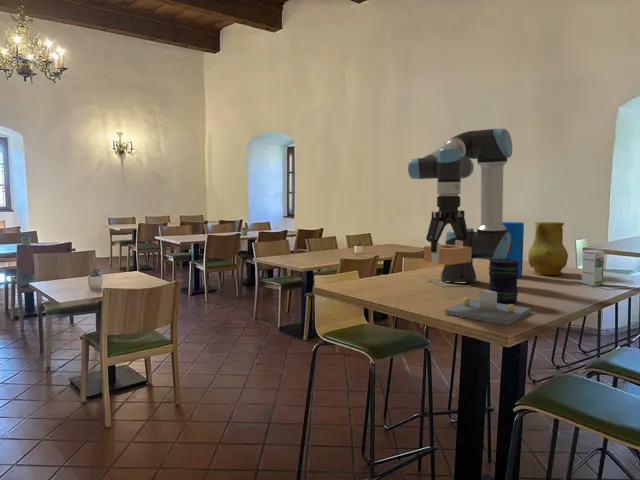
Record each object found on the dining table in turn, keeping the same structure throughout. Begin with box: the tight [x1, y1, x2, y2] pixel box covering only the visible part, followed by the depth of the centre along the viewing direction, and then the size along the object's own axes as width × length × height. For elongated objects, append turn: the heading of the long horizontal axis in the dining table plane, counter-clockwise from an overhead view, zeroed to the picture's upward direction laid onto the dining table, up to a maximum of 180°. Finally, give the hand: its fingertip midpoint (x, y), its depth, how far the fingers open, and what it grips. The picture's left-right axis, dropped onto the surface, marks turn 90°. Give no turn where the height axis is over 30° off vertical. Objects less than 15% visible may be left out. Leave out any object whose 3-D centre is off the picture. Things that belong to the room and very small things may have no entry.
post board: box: [444, 290, 532, 326], centre depth 153 cm, size 20×20×7 cm
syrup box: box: [581, 249, 605, 286], centre depth 201 cm, size 6×6×14 cm
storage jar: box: [487, 258, 519, 305], centre depth 169 cm, size 10×10×15 cm
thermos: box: [502, 221, 525, 279], centre depth 221 cm, size 11×11×25 cm
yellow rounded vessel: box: [527, 221, 569, 276], centre depth 226 cm, size 17×19×25 cm
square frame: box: [423, 243, 472, 265], centre depth 159 cm, size 11×11×5 cm
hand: (447, 260), depth 160 cm, fingers closed on square frame, 11 cm apart
